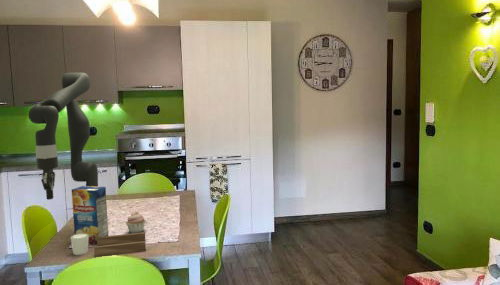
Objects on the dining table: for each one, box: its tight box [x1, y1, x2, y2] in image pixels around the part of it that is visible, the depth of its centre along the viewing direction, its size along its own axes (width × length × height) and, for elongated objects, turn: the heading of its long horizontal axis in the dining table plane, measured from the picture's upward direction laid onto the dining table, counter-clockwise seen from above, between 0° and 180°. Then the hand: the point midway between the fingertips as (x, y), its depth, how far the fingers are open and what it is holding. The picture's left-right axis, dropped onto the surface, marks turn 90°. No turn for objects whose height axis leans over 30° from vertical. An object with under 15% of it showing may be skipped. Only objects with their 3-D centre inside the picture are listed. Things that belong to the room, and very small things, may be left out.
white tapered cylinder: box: [70, 233, 89, 256], centre depth 164 cm, size 7×7×7 cm
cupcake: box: [125, 210, 147, 234], centre depth 189 cm, size 9×9×10 cm
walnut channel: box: [93, 231, 147, 257], centre depth 169 cm, size 13×20×4 cm, turn 105°
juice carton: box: [71, 185, 109, 246], centre depth 177 cm, size 12×8×24 cm, turn 76°
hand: (50, 198), depth 160 cm, fingers closed
